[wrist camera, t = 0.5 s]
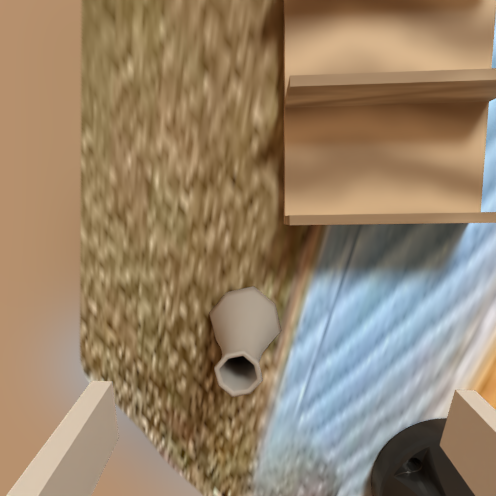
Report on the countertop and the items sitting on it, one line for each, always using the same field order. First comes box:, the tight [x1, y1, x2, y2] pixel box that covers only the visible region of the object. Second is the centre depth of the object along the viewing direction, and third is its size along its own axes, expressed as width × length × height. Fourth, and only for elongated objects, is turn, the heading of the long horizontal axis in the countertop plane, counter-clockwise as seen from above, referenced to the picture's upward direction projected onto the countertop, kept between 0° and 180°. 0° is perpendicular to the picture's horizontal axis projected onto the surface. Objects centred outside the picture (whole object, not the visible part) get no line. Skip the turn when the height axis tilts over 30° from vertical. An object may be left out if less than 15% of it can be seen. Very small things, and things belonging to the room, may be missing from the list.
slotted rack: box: [284, 0, 496, 225], centre depth 23 cm, size 22×18×5 cm
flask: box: [209, 286, 281, 397], centre depth 23 cm, size 7×7×10 cm
